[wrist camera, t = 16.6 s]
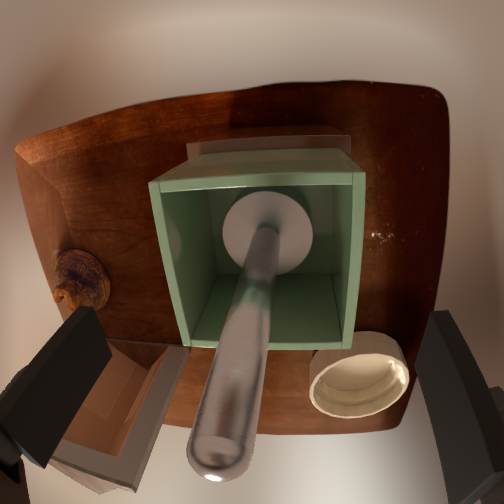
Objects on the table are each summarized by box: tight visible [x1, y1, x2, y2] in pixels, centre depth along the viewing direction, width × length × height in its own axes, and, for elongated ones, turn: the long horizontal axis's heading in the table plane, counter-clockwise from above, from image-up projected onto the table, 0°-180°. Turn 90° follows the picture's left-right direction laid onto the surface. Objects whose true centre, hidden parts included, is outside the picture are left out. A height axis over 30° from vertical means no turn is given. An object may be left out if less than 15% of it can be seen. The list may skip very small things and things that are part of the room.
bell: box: [53, 249, 111, 311], centre depth 46 cm, size 12×12×7 cm
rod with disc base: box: [186, 185, 314, 482], centre depth 15 cm, size 6×6×19 cm
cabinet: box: [48, 338, 191, 494], centre depth 44 cm, size 21×10×28 cm, turn 95°
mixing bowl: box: [309, 331, 409, 418], centre depth 48 cm, size 16×16×6 cm
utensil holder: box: [148, 125, 366, 350], centre depth 27 cm, size 12×12×25 cm
